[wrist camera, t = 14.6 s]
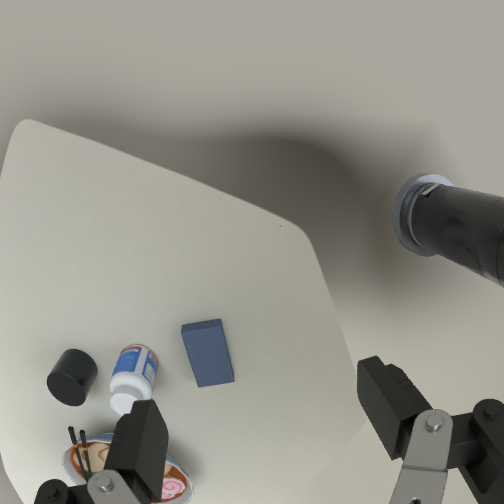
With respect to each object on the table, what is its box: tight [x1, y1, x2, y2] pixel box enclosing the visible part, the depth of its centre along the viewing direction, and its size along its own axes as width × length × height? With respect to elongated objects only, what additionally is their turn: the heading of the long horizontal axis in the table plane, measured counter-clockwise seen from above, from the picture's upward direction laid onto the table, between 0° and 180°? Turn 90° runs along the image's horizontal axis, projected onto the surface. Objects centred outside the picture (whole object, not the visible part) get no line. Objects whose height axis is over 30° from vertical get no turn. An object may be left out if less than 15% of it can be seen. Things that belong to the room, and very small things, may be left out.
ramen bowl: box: [62, 426, 194, 504], centre depth 42 cm, size 25×23×8 cm
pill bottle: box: [109, 345, 157, 416], centre depth 36 cm, size 6×5×10 cm
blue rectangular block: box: [181, 319, 234, 387], centre depth 41 cm, size 9×5×2 cm, turn 9°
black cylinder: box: [47, 349, 97, 406], centre depth 38 cm, size 6×6×6 cm
